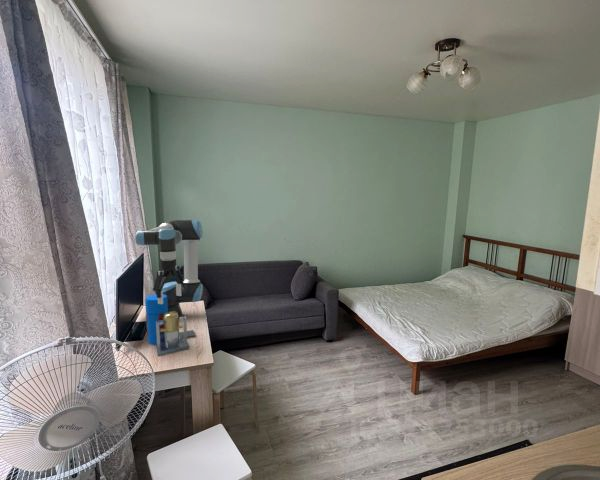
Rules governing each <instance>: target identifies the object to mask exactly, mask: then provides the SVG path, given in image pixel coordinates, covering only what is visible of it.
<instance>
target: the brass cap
mask: <svg viewBox="0 0 600 480" xmlns="http://www.w3.org/2000/svg"><path fill="white" fill-rule="evenodd" d="M179 323H180V320H179V319H178V313H177V312H174V311H172V312H167V313H165V314H164V328H161V329H160V332H163V331H165V332H171V333H173V332H174V331H176V330H178V329H179V330H180V329H183V324H179Z"/></svg>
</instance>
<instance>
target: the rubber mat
mask: <svg viewBox="0 0 600 480" xmlns="http://www.w3.org/2000/svg"><path fill="white" fill-rule="evenodd" d="M180 338H184V331H179V339H180ZM191 338H196V333H195V330H194V329H191V330H187V339H191Z"/></svg>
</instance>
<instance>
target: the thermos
mask: <svg viewBox="0 0 600 480" xmlns="http://www.w3.org/2000/svg"><path fill="white" fill-rule="evenodd" d="M167 312H168V305H167V296H166V295H164V294H163V304H158V298H157V293H155V294H151V295H148V296H146V297H145V319H146V335H147V342H148V344H149V345H154V346H156V343H157V335H156V321H160V320H163V324H161V325H159V332H160V329H161V328H164V314H165V313H167ZM164 341H165V332H164V331H163V332H160V342H164Z"/></svg>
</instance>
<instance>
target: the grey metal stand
mask: <svg viewBox="0 0 600 480" xmlns="http://www.w3.org/2000/svg"><path fill="white" fill-rule="evenodd" d="M178 320H179V322H182V325H183V328H182V329H183V330H182V332H184V338H180V336H179V332H180V329H178V330H176V331H174V332H173V333H171V332H165V331H164V332H165V341H164V342H160V332H159V325H161V324H163V320H160V321H156V335H157V343H156V345H155V348H156V349H155V350H156V355H157V356H156V357H159V356H164V355H169V354H174V353H178V352H184V351H188V350H190V346H189V345H190V344H189V342H188V341H189V340H188V338H187V331H188V328H187V327H188V325H187V324H188V323H187V316H182V317H179V319H178Z"/></svg>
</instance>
